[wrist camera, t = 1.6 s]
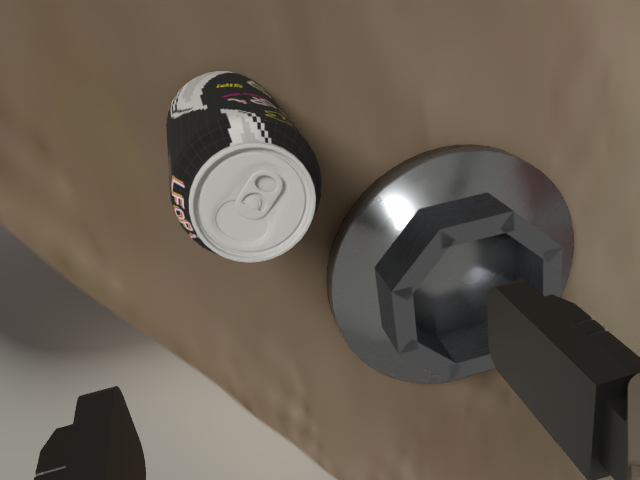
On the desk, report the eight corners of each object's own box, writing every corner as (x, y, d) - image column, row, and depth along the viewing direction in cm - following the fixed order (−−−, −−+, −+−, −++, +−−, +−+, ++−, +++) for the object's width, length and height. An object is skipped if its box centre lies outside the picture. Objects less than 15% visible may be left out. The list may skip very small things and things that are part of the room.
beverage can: (295, 101, 33) (362, 171, 22) (244, 193, 34) (284, 299, 23) (197, 46, 30) (219, 95, 20) (147, 146, 32) (142, 242, 21)
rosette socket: (563, 119, 37) (612, 139, 33) (557, 335, 44) (596, 372, 40) (307, 178, 35) (327, 206, 31) (344, 396, 42) (364, 442, 38)
